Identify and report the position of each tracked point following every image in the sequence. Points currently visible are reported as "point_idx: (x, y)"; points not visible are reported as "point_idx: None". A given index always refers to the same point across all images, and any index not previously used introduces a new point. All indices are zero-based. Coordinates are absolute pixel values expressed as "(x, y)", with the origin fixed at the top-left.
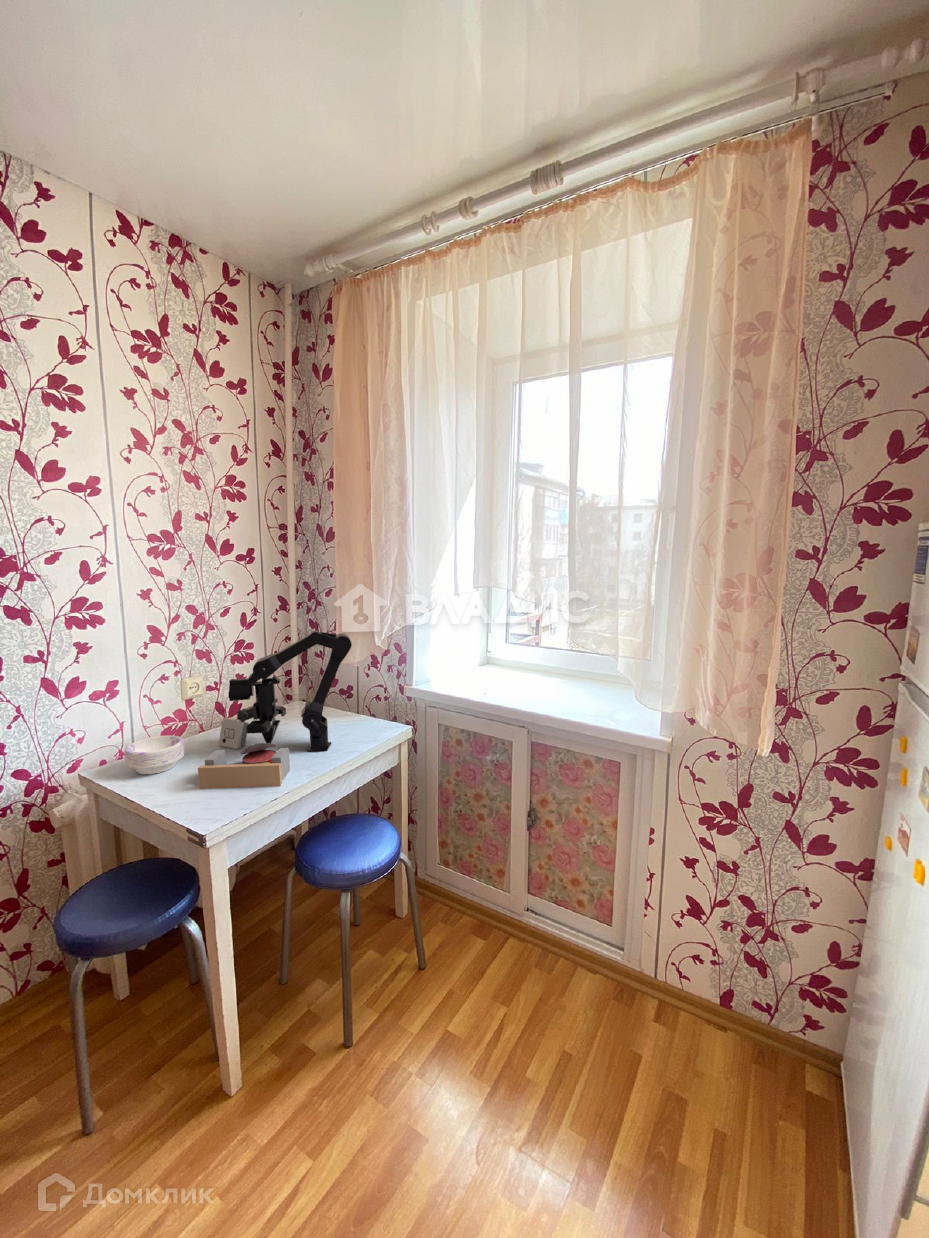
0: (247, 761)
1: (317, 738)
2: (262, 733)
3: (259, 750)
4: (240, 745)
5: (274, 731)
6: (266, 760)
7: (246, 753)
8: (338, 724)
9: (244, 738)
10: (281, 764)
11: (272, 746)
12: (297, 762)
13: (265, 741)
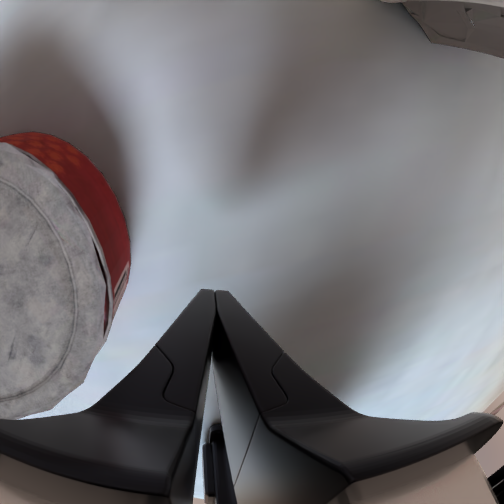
0: None
1: (204, 500)
2: (120, 390)
3: (56, 257)
4: (411, 8)
5: (230, 456)
6: None
7: (5, 150)
8: (456, 408)
9: (467, 35)
10: None
11: (56, 382)
12: (87, 402)
13: (185, 308)
